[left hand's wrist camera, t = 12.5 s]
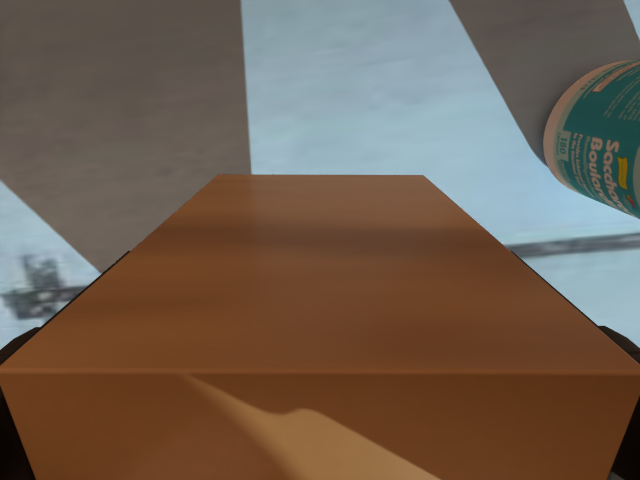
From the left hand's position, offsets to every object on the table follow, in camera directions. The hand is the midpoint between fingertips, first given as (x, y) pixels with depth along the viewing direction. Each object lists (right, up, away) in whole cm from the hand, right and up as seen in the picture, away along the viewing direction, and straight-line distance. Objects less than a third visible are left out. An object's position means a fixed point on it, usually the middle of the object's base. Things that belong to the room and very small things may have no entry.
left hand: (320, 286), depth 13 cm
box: (0, -7, +5) cm, 9 cm away
